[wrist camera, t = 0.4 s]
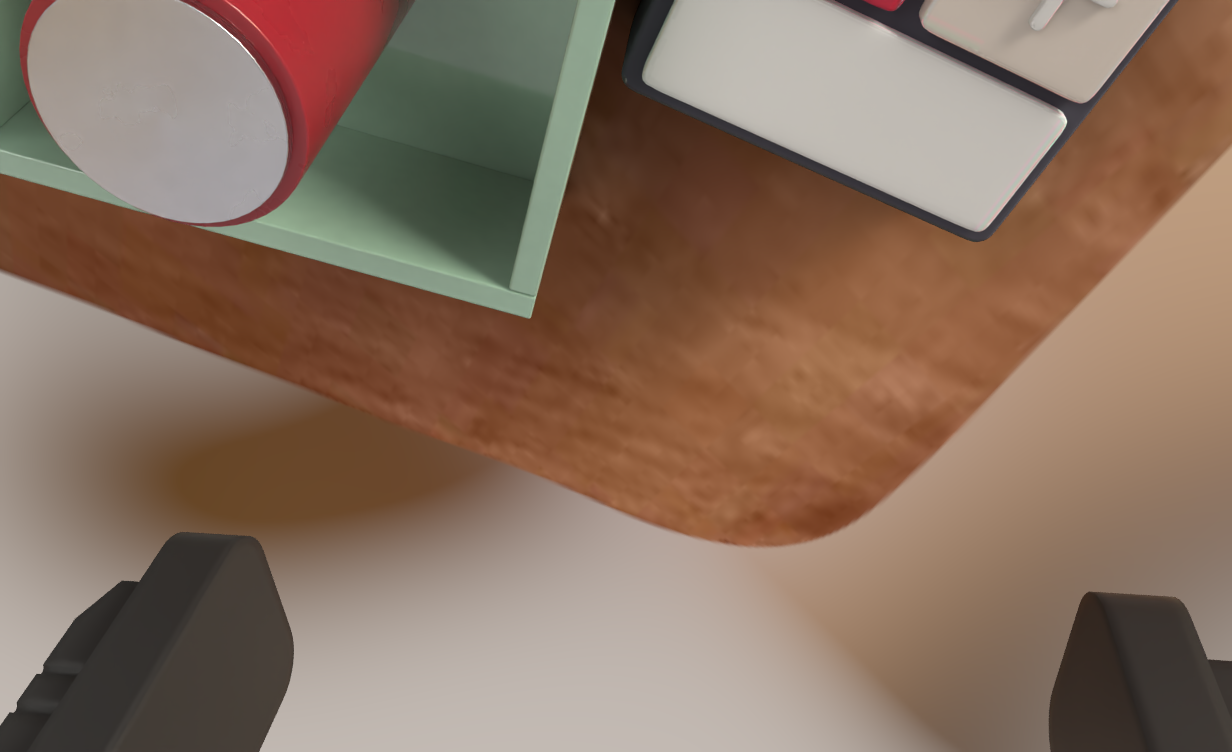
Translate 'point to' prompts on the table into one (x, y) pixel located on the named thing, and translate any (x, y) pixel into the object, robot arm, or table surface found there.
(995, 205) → the calculator
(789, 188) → the table surface
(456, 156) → the open box
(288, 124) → the can
